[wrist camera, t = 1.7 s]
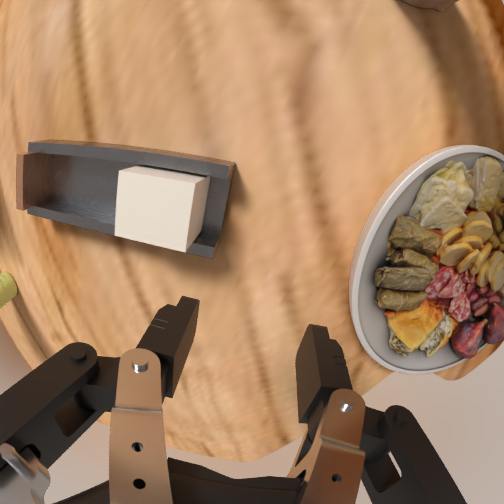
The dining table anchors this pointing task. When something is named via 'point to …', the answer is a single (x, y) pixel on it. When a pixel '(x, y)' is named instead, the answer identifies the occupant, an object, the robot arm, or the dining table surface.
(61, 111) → the dining table surface
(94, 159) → the chute
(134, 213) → the block
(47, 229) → the dining table surface
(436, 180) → the bowl
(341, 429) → the robot arm
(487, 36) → the dining table surface
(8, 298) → the tube
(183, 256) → the dining table surface
